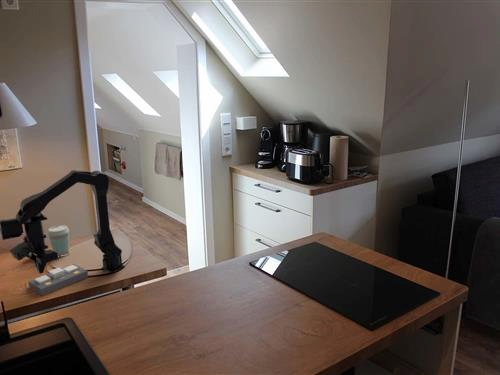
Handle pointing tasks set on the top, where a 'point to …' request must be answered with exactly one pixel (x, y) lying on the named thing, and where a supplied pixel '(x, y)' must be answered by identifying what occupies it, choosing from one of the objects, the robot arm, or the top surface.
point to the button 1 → (42, 279)
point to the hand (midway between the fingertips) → (41, 273)
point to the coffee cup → (59, 239)
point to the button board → (58, 281)
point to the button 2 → (70, 269)
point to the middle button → (56, 273)
